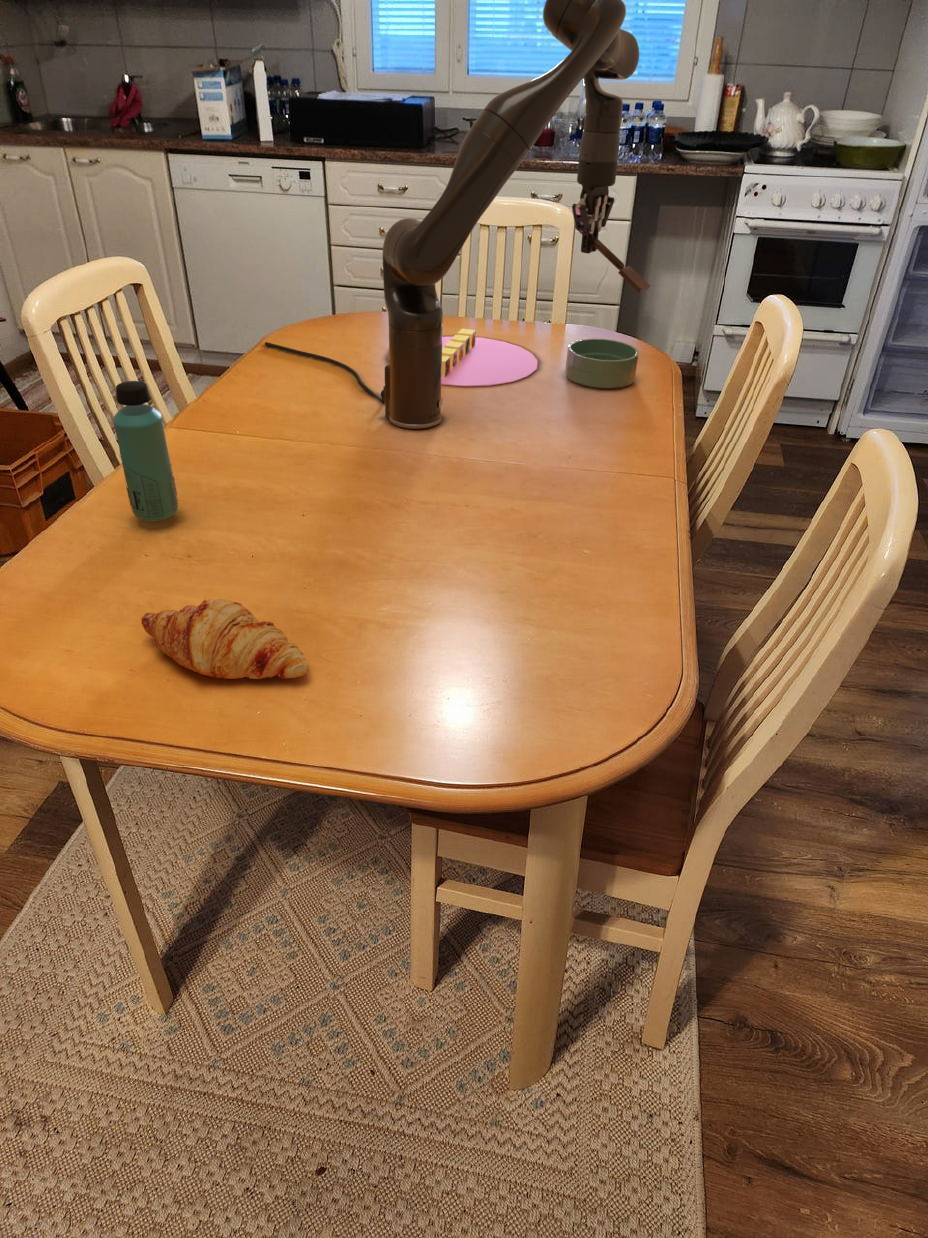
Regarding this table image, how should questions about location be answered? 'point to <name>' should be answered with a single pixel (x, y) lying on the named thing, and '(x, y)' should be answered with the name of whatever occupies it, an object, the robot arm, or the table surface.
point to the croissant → (224, 642)
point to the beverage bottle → (144, 454)
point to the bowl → (601, 363)
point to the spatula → (621, 267)
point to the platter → (483, 361)
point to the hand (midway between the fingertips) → (588, 251)
